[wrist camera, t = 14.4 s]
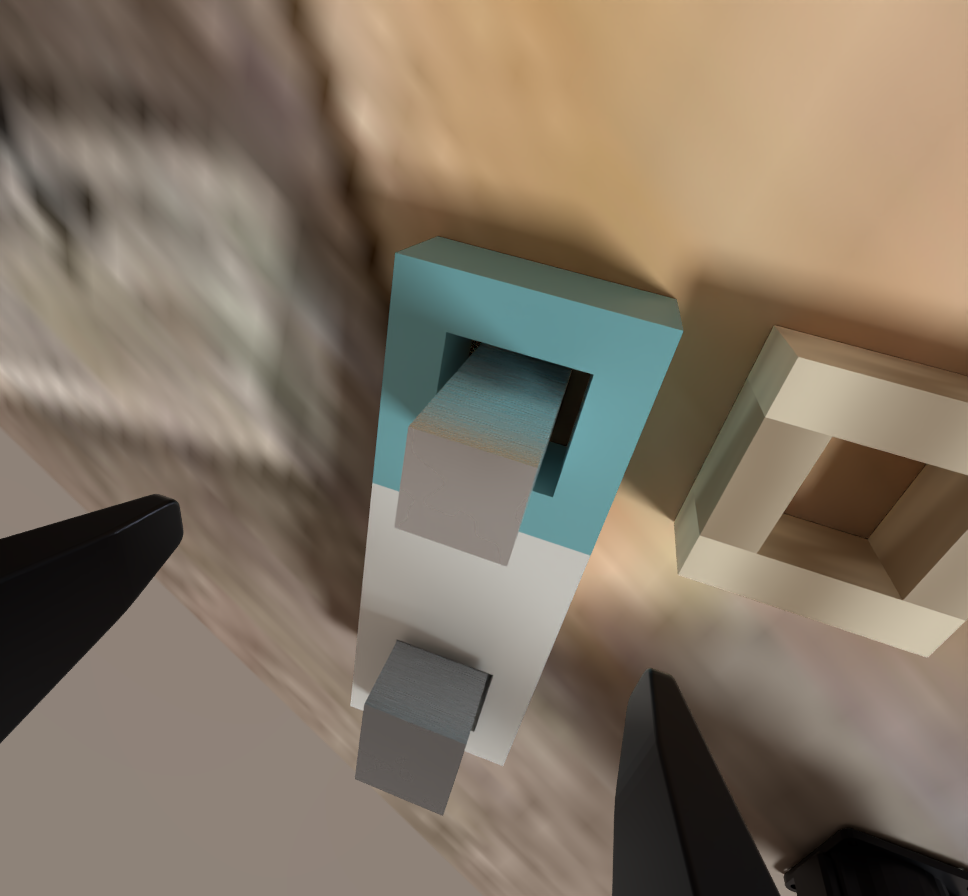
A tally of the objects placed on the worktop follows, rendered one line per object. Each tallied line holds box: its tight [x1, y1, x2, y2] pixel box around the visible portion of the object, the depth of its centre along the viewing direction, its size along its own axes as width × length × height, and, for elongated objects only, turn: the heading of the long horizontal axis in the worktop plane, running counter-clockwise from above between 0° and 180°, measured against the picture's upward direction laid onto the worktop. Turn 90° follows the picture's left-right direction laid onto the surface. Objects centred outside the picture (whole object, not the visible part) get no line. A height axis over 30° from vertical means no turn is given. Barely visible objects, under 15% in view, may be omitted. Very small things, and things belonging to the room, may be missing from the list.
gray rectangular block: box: [355, 640, 488, 816], centre depth 23 cm, size 4×6×7 cm
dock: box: [350, 236, 683, 766], centre depth 21 cm, size 8×22×4 cm, turn 169°
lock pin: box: [394, 342, 573, 567], centre depth 16 cm, size 3×3×8 cm
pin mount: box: [674, 325, 968, 658], centre depth 16 cm, size 8×8×3 cm
